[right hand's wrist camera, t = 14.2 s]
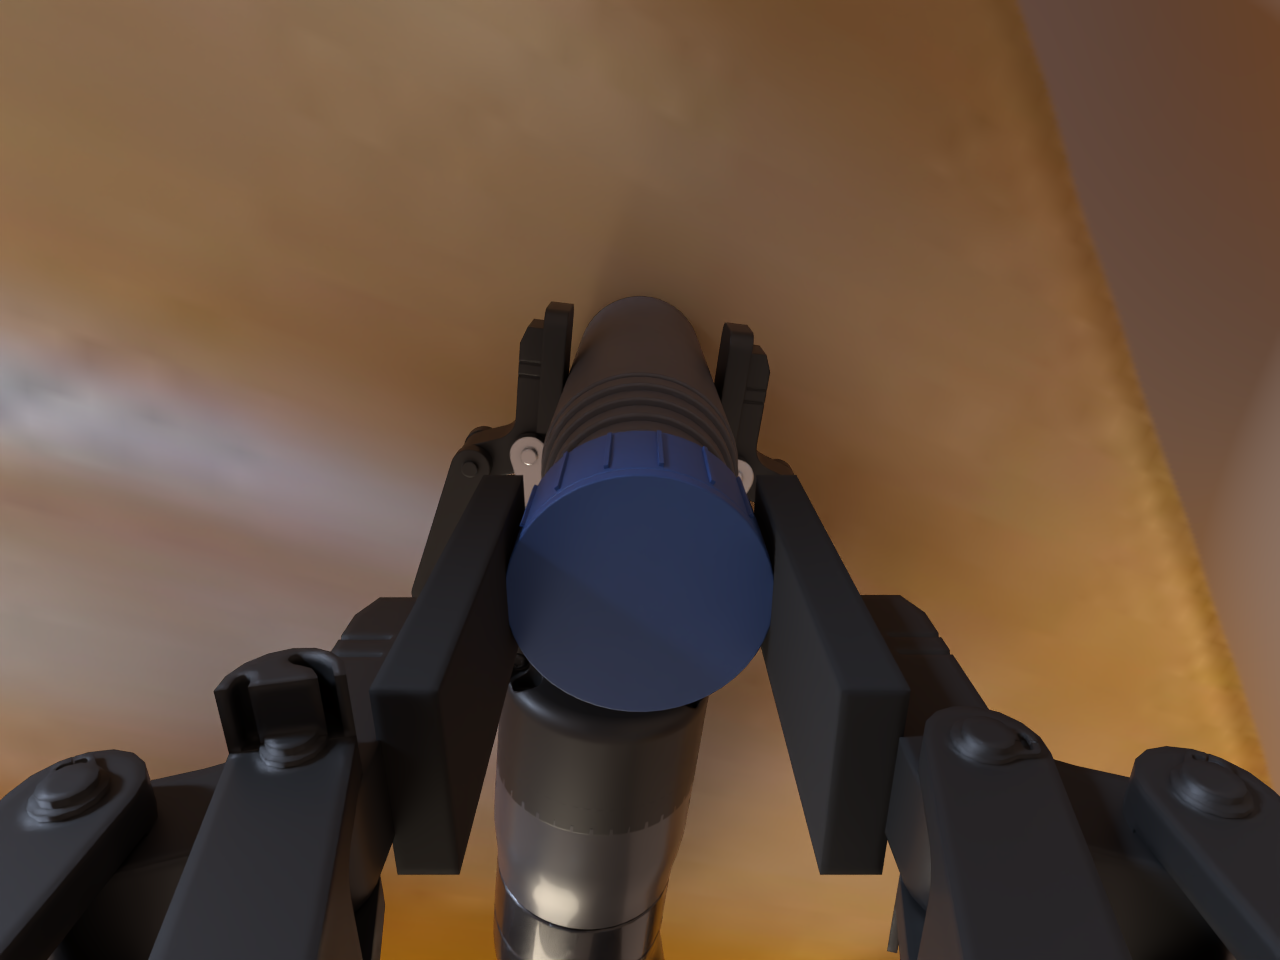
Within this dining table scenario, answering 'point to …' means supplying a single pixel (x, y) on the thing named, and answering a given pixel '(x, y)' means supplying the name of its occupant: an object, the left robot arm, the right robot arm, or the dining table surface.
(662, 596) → the cap
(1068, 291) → the dining table surface
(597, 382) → the bottle
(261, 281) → the dining table surface
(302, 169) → the dining table surface
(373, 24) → the dining table surface
